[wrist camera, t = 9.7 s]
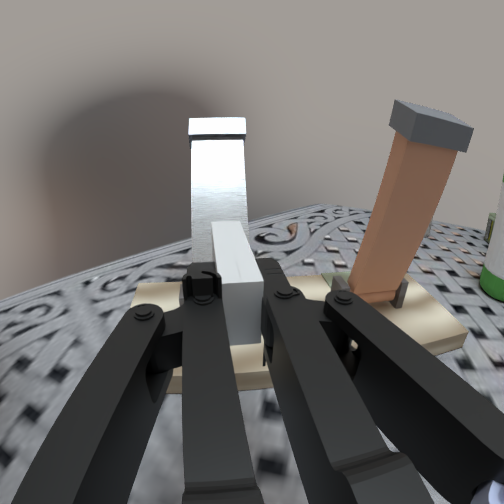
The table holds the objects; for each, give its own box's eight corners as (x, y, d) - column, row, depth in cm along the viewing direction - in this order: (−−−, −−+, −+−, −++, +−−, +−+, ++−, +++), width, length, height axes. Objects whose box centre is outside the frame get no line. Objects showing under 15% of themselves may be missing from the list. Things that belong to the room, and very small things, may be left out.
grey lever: (258, 313, 26) (245, 117, 30) (190, 316, 25) (189, 118, 29) (254, 313, 29) (242, 132, 32) (192, 316, 28) (190, 133, 32)
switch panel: (461, 347, 25) (479, 305, 23) (116, 392, 21) (99, 344, 19) (398, 282, 38) (406, 247, 36) (141, 298, 33) (134, 258, 31)
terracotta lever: (394, 307, 29) (473, 128, 16) (345, 313, 28) (417, 112, 16) (384, 286, 31) (451, 114, 18) (337, 291, 30) (394, 99, 18)
